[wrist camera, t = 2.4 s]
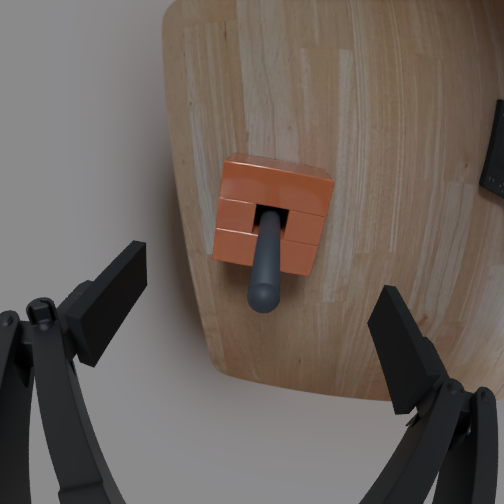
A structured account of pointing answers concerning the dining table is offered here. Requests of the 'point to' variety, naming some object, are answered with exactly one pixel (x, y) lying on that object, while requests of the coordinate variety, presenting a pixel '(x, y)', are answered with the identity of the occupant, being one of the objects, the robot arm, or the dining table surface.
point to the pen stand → (276, 195)
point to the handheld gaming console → (495, 155)
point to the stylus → (266, 263)
